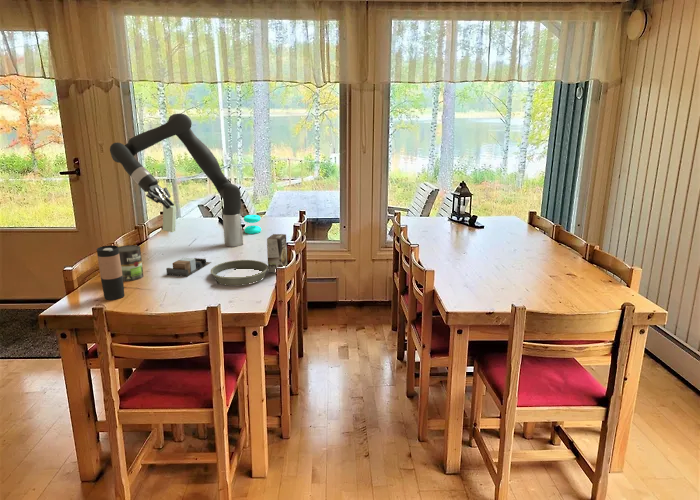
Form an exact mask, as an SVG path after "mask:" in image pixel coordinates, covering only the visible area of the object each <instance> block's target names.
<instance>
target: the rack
mask: <svg viewBox="0 0 700 500" xmlns="http://www.w3.org/2000/svg"><path fill="white" fill-rule="evenodd" d="M194 258H195V263H196V269H195V270H193V271H192V272H190V273H188V270H187V269H176V268H173V267H166V269H165V270H166V275H167V276H170V277H171V276H173V277H183V278H184V277H185V278H188V277H189V276H192V275H193V274H195V273H197V272H198V271H200V270H202V269H203V268H205V267H207V266H208V265H210V264H212V262H211V261H207V259H206V258H198V257H194Z"/></svg>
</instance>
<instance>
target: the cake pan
mask: <svg viewBox="0 0 700 500" xmlns="http://www.w3.org/2000/svg"><path fill="white" fill-rule="evenodd" d="M232 269H233V270H236V269H254V270H259V271H262V272H261V273H258V274H255V275H252V276H246V277H224V276H220V275H219V273H221V272H224V271H226V270H227V271H228V270H232ZM267 272H268V263H265V262H263V261H259V260H254V259H237V260H235V259H234V260H229V261H224V262H220V263H218V264H217V265H214V266H213V267H212V268H211V269H210V273H211V275H212V276H213V277H214V279H215V280H216V282H217V283H218V284H220V283H221V284H220V285H223V284H226V285H225V286H229V285H242V284H249V283H253V282H256V281H259V280H261V279H262V278H264V279H265V277H266V273H267ZM264 276H265V277H264ZM261 281H262V280H261ZM259 282H260V281H259ZM256 283H257V282H256ZM253 284H254V283H253ZM249 285H250V284H249ZM242 286H243V285H242Z"/></svg>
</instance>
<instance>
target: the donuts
mask: <svg viewBox="0 0 700 500" xmlns="http://www.w3.org/2000/svg"><path fill="white" fill-rule="evenodd" d="M243 221H244V222H245V223H249V224H256V223H259V222H260V221H261V216H260V215H258V214H248V215H245V216H244V217H243ZM261 231H262V227H260V225H248V226H246V227H245V228H244V230H243V232H244V233H245V234H249V235H256V234H259V233H261ZM255 233H256V234H255Z"/></svg>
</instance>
